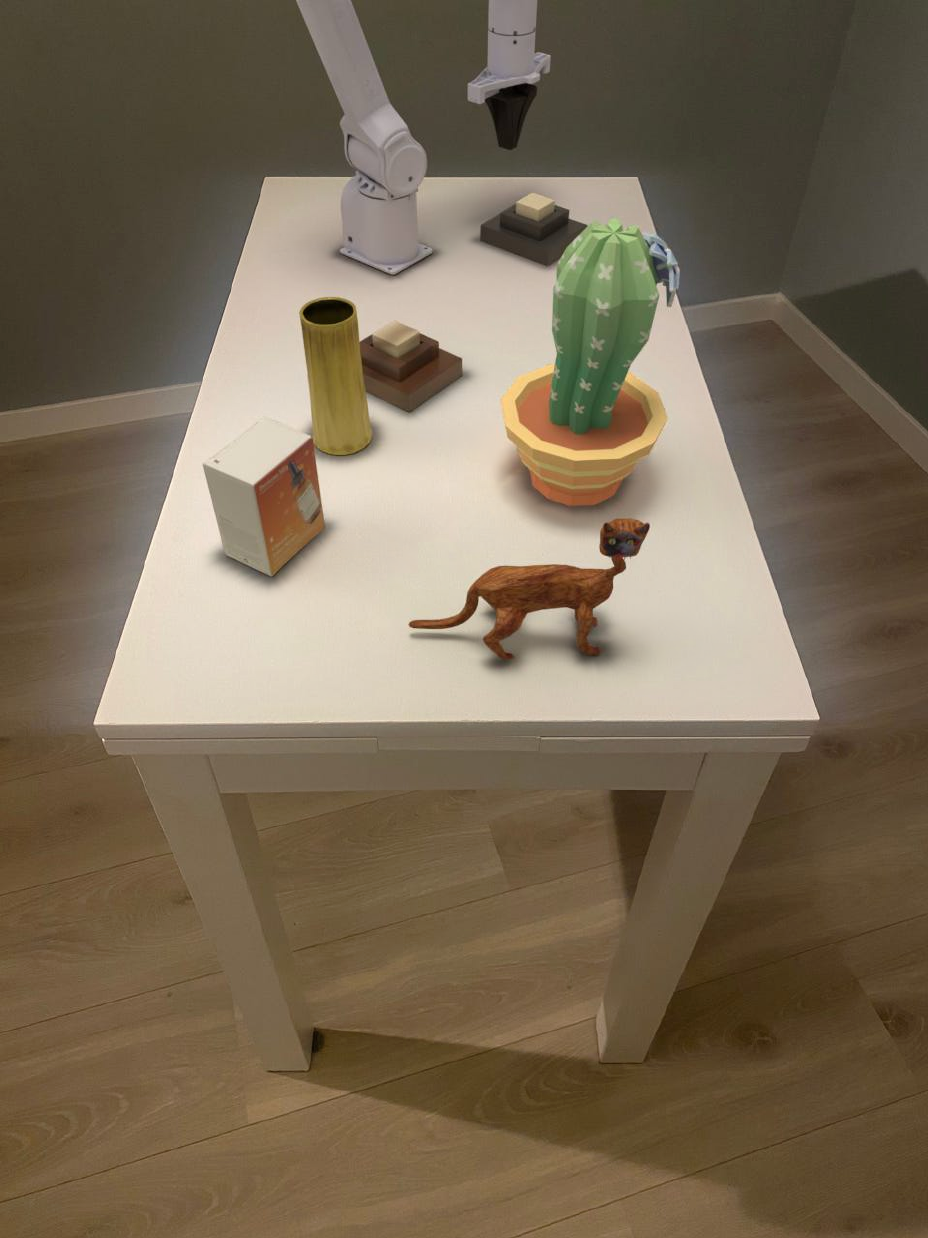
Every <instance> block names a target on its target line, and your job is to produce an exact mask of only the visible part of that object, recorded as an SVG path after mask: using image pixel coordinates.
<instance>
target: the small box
mask: <svg viewBox="0 0 928 1238" xmlns="http://www.w3.org/2000/svg"><path fill="white" fill-rule="evenodd" d="M202 468H203V473H204V477H205V479H206V484H207V488H208V492H209V496H210V500H211V504H212V508H213V511H214V516H215V520H216V524H217V528H218V531H219V537H220V540H221V545H222V547H223V552H224V554H225V556H227V557H230V558H232V559H234V560H236V561H238V562H240V563H241V564H243V565H246V566H249V567H250V568H253V569H254V570H257V571H259V572H260V573H263V574H265V575H267V576H269V577H273V576H274V575H275V574H276V573H277V572H279V570H281V568H282V567H283V566H284V565H285V564H286V563H287V562H289V561H290V560H291V559H292V558H293V557H294V556H295V555H296V554H297V553H298V552H299V551H301V550H302V549H303V548H305V546H307V544H308V543H310V542H311V540H313V539H314V538H315V537H316V536H317V535H319V534H320V533H321V532H322V531H323V530H324V529H325V528H326V527H325V518H324V510H323V504H322V503H323V502H322V497H321V496H322V495H321V489H320V482H319V473H318V466H317V459H316V452H315V444H314V442H313V438H312V435H309V434H307V433H306V432H303V431H300V430H299V429H295V428H293V427H291V426H288V425H286V424H283V423H282V422H281V423H280V422H279V421H277V420H273V419H272V418H268V417H266V416H262V417H260V418H259V420H257V421H256V422H255V423H254V424H253V425H252V426H250V427H249V428H248V429H246V430H245V431H244V432H243V433H242V434H240V435H239V436H238V437H236V438H235V439H233V441H231V442H230V443H229V444H228V445H226V446H225V447H223V448H222V449H221V450H219V451H218V452H217V453H215V454H214V455H213V456H212V457H210V458H208V459H207V460H205V461H204V462H203V463H202Z"/></svg>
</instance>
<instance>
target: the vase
mask: <svg viewBox="0 0 928 1238" xmlns="http://www.w3.org/2000/svg"><path fill="white" fill-rule="evenodd" d="M358 319H359V318H358V311H357V307H356V305H355V303H354V302H353V301H351V300H349V299H346V298H345V297H344V298H343V297H339V296H323V297H318V298H315V299H312V300H309V301H307V302H305V304H303V305H302V307H300V309H299V320H300V327H301V334H302V341H303V342H302V343H303V350H304V358H305V365H306V372H307V382H308V383H307V384H308V391H309V400H310V401H309V402H310V413H311V422H312V423H311V424H312V435H311V437H312V438H313V444H314V447H316V448H317V449H318V450H320V451H321V452H323V453H326V454H329V455H333V456H346V455H351V454H355V453H358V452H360V451H361V450H363V449H365V448H366V447H367V446H368V445H369V444H370V442H371V441H372V439H373V430H372V428H371V423H370V412H369V405H368V398H367V392H366V389H365V381H364V375H363V368H362V360H361V353H360V332H359V329H360V328H359V320H358Z"/></svg>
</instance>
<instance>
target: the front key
mask: <svg viewBox="0 0 928 1238" xmlns="http://www.w3.org/2000/svg"><path fill="white" fill-rule="evenodd" d="M420 333H421V332H420V330H418V329H415V328H413V327H411V326H408V325H406V324H404V323H401V322H400V321H397V320H392V321H391V322H390V323H388V324H386V325H385V327H384V326H383V327H382V328H379V329H378V330H376V331H375V332H373V333H371V334H372V337H373V347H374V348H376V349H378V350H380V351H382V352H384V353H387V354H389V355H391V356H393V357H395V358H397V359H399V358H400V357H402V356H403V355H405V354H406V353H408V352H410V351H411V350H413V349H414V348H416V347H417V346H419V345H420Z"/></svg>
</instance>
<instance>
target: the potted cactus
mask: <svg viewBox="0 0 928 1238" xmlns="http://www.w3.org/2000/svg"><path fill="white" fill-rule="evenodd" d="M587 225H588V226H587V227H586V228H585V229H584V231H583V232H582V233H581V234H580V235H579V236H578V237H577V238H576V239H575V240H574V241H573V242H572V243H571V244H570V245H569V246H568V247H567V248H566V250H565V251H564V253H563V255H562V257H561V258H559V259H558V262H557V264H556V281H555V284H554V286H553V287H552V289H553V290H552V314H551V315H552V318H551V319H552V321H551V332H552V337H553V342H554V346H555V351H556V357H555V361H554V363H550V364H547V365H545V366H542V367H539V368H537V369H534V370H532V371H530V372H527V373H525V374H522V375H520V376H517V377H516V379H514V381H513V382H512V384H511V385H510V386H509V388H508V389H507V390H506V391H505V393H504V394H503V395H502V397H501V398H500V404H501V405H500V406H501V410H502V417H503V421H504V427H505V432H506V437H507V439H509V440H510V442H512V444H514V445H515V446H516V449H517V452H518V454H519V457H520V459H521V462H522V463H523V464H524V465H525V467H527V469H528V470H529V474H530V479H531V485H532V487H533V488H535V489H536V490H537V491H538V493H540V494H541V495H542V496H544V498H546V499H547V500H549V501H552V502H556V503H559V504H563V505H566V506H568V507H579V506H595V505H597V504H599V503H601V502H603V501H606V500H607V499H610V498H613V497H614V495H616V492H617V491H618V488H619V487H620V485H621V483H622V480H623V479H625V478H626V477H627V476H629V475H630V474H631V473H632V471H633V469H634V468H635V467H636V465H637V463H638V462H639V460H640V459H642V458H645V457H647V456H649V455H650V453H651V451H652V450H653V447H654V446H655V444H656V443H657V440H658V438H659V437H660V435H661V433H662V432H663V429H664V427H665V426H666V423H667V421H668V418H669V417H668V415H667V414H668V413H667V411H666V409H665V406H664V403H663V401H662V398H661V396H660V393H659V392H658V391H657V390H655V389H654V388H653V387H652V386H650V385H649V384H647V383H646V382H644V381H643V380H642V379H640V378H639V377H637V376H636V375H634V374H633V373H632V372H630V371H629V370H630V368H631V365H632V364H633V363H634V361H635V360H636V359H637V357H638V356H639V354H640V353H641V351H642V350H643V349H644V347H645V346H646V345H647V343H648V342H649V339H650V336H651V332H652V329H653V323H654V319H655V315H656V312H657V307H658V303H659V300H660V293H659V289H658V287H657V285H658V284H662V286H663V287H665V293H666V294H665V295H666V307H667V308H672V306H673V304H674V299H675V297H676V292H677V290H679V287H680V286H679V285H680V274H681V273H680V272H681V269H680V268H679V266H678V265H679V263H678V261H677V259H676V257H675V255H674V253H673V251H672V249H670V248H669V247H668V244H667V243H666V242H665V240H663V239H662V238H661V237H660V236H659V235H658V234H655V233H649V232H642V231H641V230H640V228H639V227H638V226H637V225H636V224H634V225H630V226H627V228H626V230H623V224H622V222H621V221H620V218H618V217H611V219H610V220H609V221H608V222H607V223H606V224H605V226H604V225H603V224H602V223H600V222H597V221H595V220H593V221H591V222H590V223H589V224H587Z"/></svg>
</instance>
